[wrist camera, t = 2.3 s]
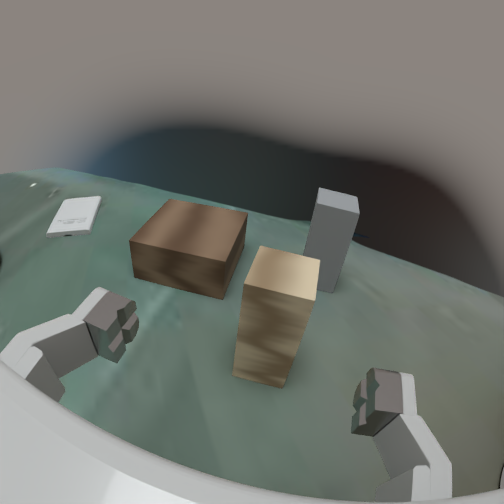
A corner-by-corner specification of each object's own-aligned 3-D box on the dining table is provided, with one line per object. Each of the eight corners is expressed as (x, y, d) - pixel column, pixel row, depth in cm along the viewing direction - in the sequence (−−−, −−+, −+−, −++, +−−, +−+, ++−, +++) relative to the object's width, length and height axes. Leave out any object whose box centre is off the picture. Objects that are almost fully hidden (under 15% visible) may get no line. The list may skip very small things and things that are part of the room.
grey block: (333, 271, 44) (357, 197, 37) (332, 293, 40) (359, 213, 33) (300, 263, 44) (319, 187, 37) (296, 284, 40) (316, 203, 33)
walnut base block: (243, 248, 46) (248, 212, 43) (222, 301, 37) (225, 261, 33) (170, 233, 48) (169, 198, 44) (134, 279, 38) (129, 240, 34)
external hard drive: (102, 203, 54) (90, 237, 44) (65, 206, 52) (47, 240, 42) (101, 195, 53) (89, 228, 44) (63, 199, 51) (45, 232, 41)
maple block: (291, 350, 31) (320, 259, 24) (282, 388, 27) (314, 300, 20) (245, 338, 32) (260, 245, 25) (232, 375, 28) (243, 283, 21)
